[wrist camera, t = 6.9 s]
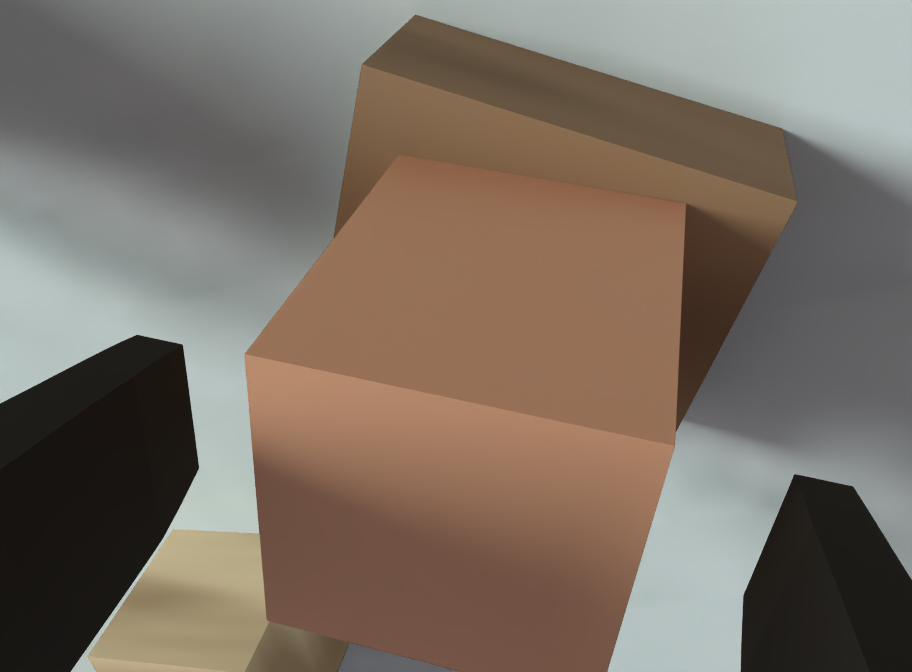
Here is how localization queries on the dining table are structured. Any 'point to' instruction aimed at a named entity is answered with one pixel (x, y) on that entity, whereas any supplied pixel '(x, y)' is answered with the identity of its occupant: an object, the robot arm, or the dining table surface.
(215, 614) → the maple block
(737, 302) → the walnut block
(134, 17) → the dining table surface
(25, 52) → the dining table surface
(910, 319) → the dining table surface
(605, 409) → the terracotta block
